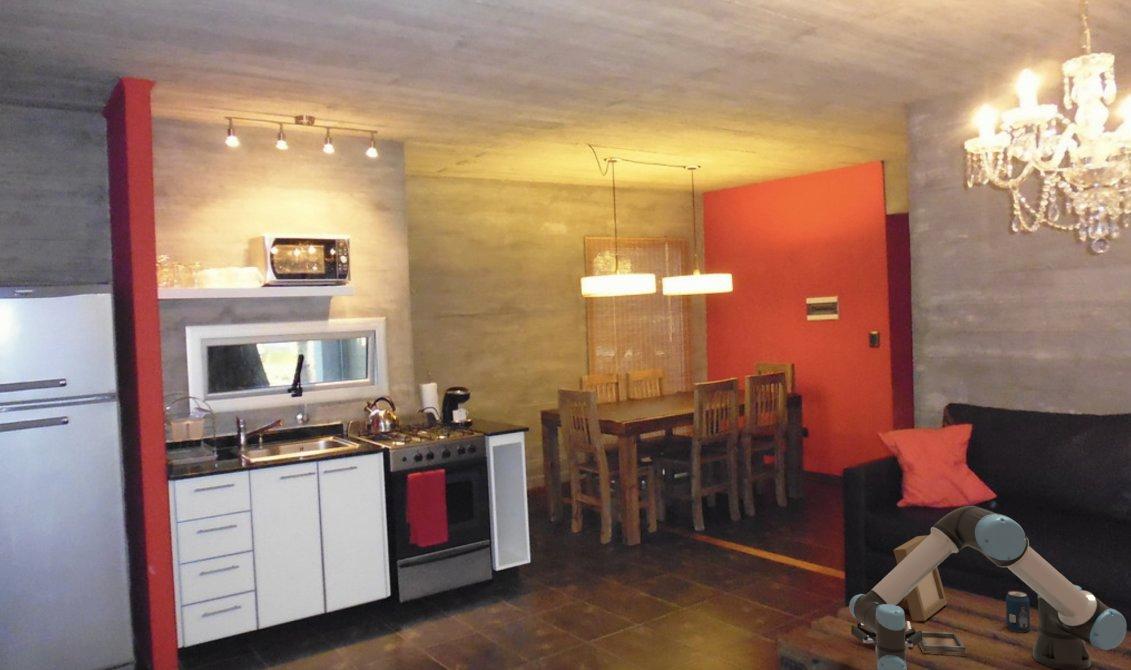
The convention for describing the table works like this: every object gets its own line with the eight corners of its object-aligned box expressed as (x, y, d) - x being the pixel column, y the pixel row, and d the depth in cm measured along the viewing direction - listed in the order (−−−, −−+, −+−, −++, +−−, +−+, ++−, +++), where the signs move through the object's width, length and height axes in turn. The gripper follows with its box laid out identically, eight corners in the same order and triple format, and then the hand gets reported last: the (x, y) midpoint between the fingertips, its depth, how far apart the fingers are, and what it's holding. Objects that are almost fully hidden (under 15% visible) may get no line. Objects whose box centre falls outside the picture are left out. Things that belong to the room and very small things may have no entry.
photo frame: (947, 605, 303) (944, 537, 303) (924, 623, 287) (921, 551, 287) (906, 598, 313) (903, 531, 313) (882, 614, 297) (879, 545, 297)
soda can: (1013, 623, 285) (1012, 588, 284) (1034, 629, 279) (1033, 594, 278) (1002, 628, 281) (1001, 593, 281) (1022, 634, 275) (1022, 598, 275)
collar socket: (957, 640, 272) (957, 632, 272) (967, 656, 260) (967, 648, 260) (915, 638, 275) (915, 630, 275) (923, 653, 263) (922, 646, 263)
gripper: (843, 658, 246) (843, 631, 266) (936, 667, 238) (928, 639, 258) (843, 633, 245) (842, 608, 266) (935, 641, 238) (927, 615, 258)
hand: (884, 623), depth 262 cm, fingers open, 13 cm apart
